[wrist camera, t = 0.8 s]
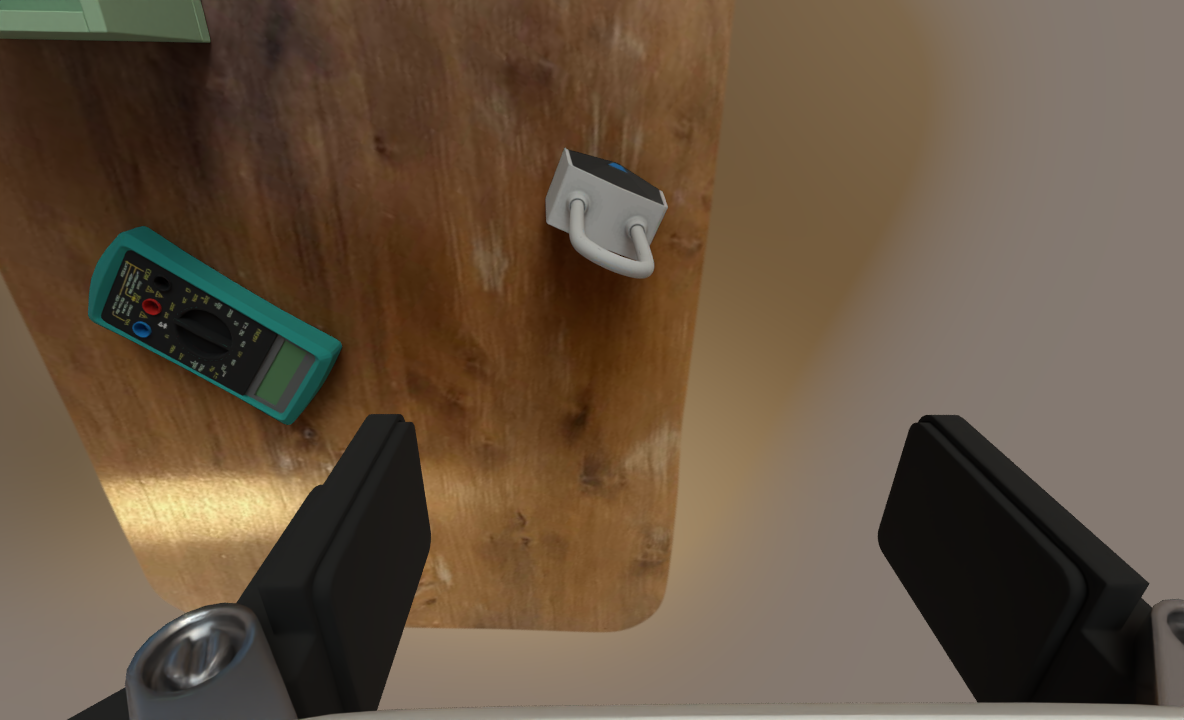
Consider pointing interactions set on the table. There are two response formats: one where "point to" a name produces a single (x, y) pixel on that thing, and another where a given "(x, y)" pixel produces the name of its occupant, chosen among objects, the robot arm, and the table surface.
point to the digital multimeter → (209, 324)
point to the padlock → (606, 212)
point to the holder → (104, 20)
